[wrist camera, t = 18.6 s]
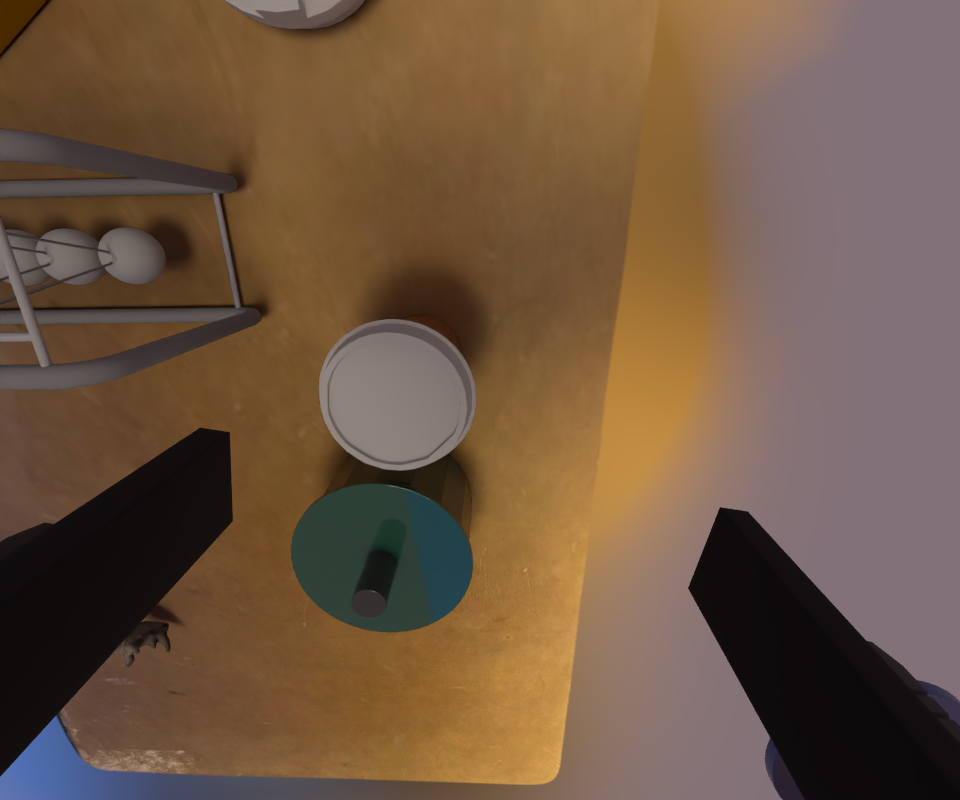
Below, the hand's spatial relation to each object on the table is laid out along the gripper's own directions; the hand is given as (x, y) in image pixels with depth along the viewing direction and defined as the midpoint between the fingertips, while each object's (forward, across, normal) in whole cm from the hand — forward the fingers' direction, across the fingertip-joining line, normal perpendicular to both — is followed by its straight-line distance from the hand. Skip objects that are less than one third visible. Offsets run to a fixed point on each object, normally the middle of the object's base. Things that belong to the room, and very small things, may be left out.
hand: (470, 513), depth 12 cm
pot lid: (+18, -5, -17) cm, 25 cm away
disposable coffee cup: (+26, -5, -3) cm, 27 cm away
